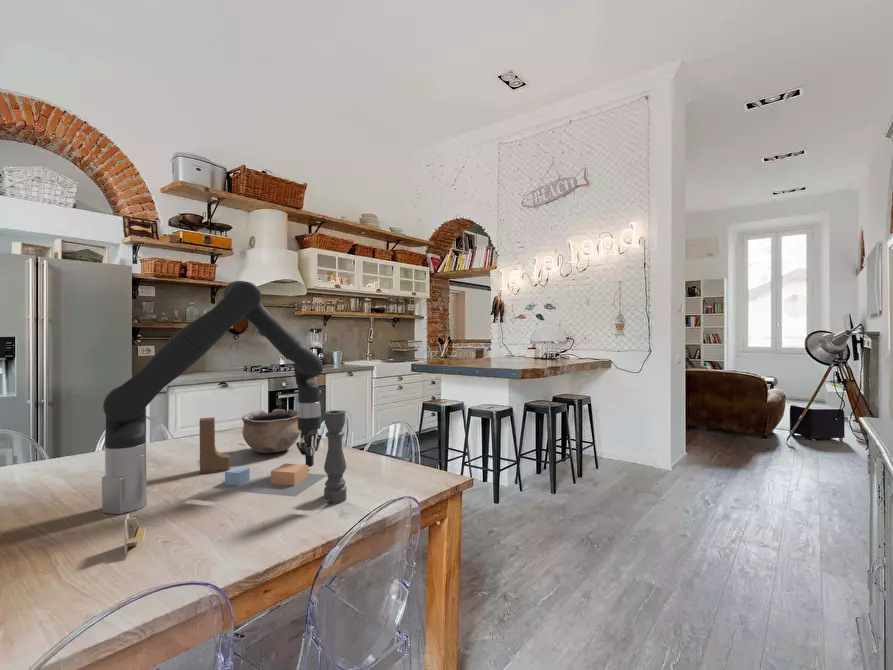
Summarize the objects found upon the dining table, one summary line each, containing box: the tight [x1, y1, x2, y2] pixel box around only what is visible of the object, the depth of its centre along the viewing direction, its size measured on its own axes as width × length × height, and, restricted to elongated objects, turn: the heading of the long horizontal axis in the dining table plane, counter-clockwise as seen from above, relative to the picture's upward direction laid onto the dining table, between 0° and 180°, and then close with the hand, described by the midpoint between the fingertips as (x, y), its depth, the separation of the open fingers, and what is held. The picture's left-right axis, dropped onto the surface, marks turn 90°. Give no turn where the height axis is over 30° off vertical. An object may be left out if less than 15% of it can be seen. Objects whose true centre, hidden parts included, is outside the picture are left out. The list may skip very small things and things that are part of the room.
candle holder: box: [323, 409, 348, 505], centre depth 133 cm, size 6×6×25 cm
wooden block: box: [199, 417, 231, 474], centre depth 160 cm, size 9×4×18 cm, turn 115°
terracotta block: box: [270, 463, 309, 486], centre depth 146 cm, size 8×8×4 cm
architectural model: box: [124, 513, 147, 555], centre depth 104 cm, size 3×7×7 cm, turn 28°
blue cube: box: [224, 466, 251, 487], centre depth 145 cm, size 5×5×5 cm
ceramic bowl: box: [241, 408, 301, 454], centre depth 185 cm, size 22×22×15 cm
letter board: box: [240, 472, 328, 497], centre depth 144 cm, size 20×18×1 cm
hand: (309, 465), depth 158 cm, fingers closed
